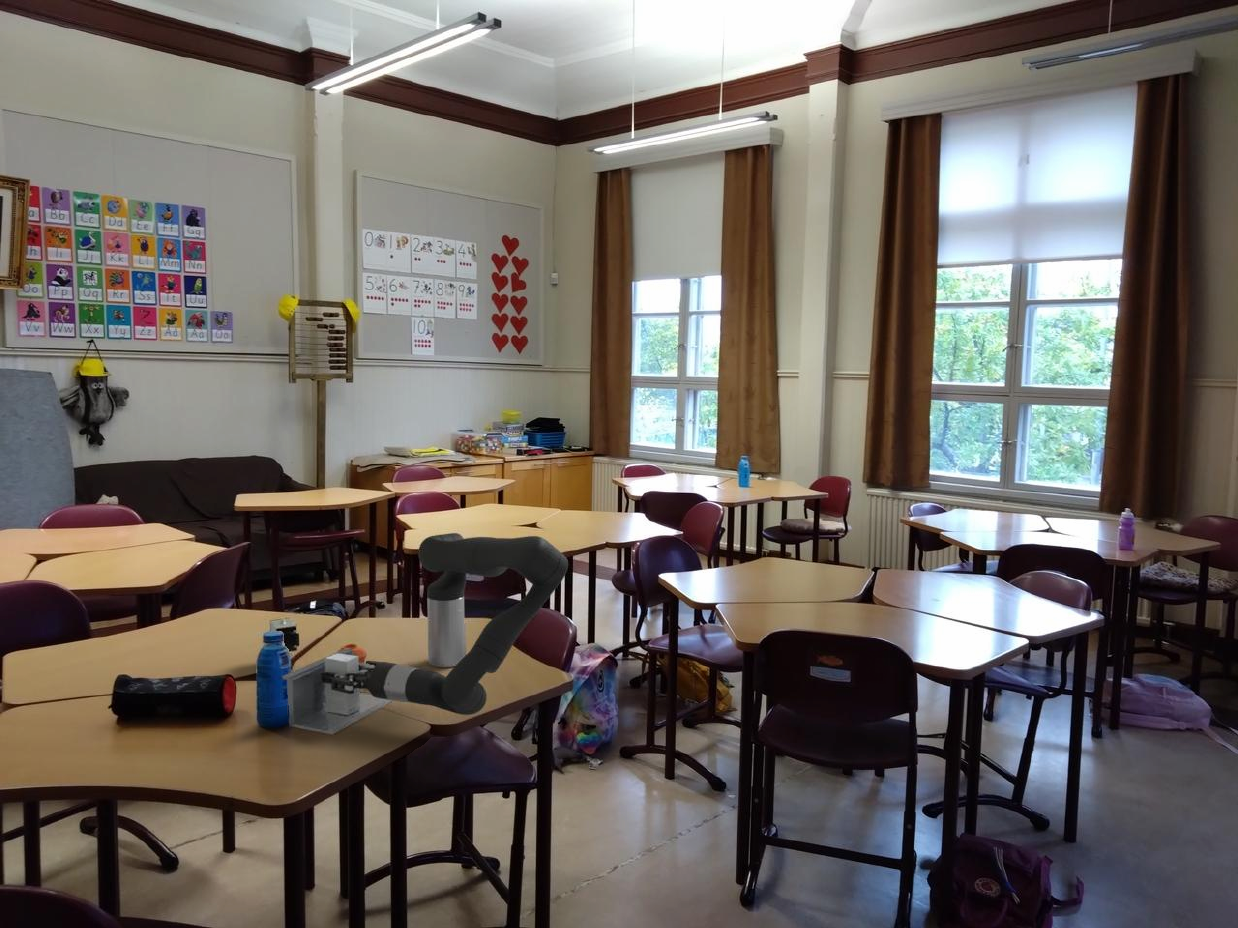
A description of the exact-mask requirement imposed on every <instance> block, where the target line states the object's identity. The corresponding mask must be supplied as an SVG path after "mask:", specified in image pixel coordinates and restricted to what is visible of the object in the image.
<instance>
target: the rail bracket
mask: <svg viewBox="0 0 1238 928" xmlns="http://www.w3.org/2000/svg"><path fill="white" fill-rule="evenodd" d="M338 651H339V650H338ZM338 651H336V652H333V653H332V654H330V655H328V656H325V657H323V658H321V659H318V660H317V661H313V662H311V663H309V664H307V665H305V666H302V667H300V668H298V669H296V670H294V671H290V672H289V673H286V674H284V675H282V676H281V677H282V678H283V679H282V678H281V679H282V680H286V693H287V694H286V695H288V699H287V706H288V705H289V714H290V722H289V723H290V726H289V727H292V728H298V729H302V730H307V731H312V732H317V733H323V734H327V735H334V734H336V733H338V732H339V731H341V730H343V729H345V728H347V727H348V726H350V725H352V724H354V723H356V722H357V721H359V720H362V719H363V718H365V717H366V716H368V715H370V714H372V713H374V712H375V711H377V710H379V709H381V708H382V707H385V706H386V705H388V704H389V703H391V702H392V701H393V700H387V699H381V698H376V697H374V696H372V695H371V694H368V693H361V692H359V695H360V709H359V710H357V711H355V712H353V713H351V714H349V715H344V714H338V713H332V712H327V711H326V683H323V682H322V681H321V673H323V672H325V658H327V657H329V656H332V655H334V654H337V653H338V654H345V655H352V656H355V653H353V652H352V650H350V649H343V650H341V651H339V652H338ZM373 711H374V712H373Z"/></svg>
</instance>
